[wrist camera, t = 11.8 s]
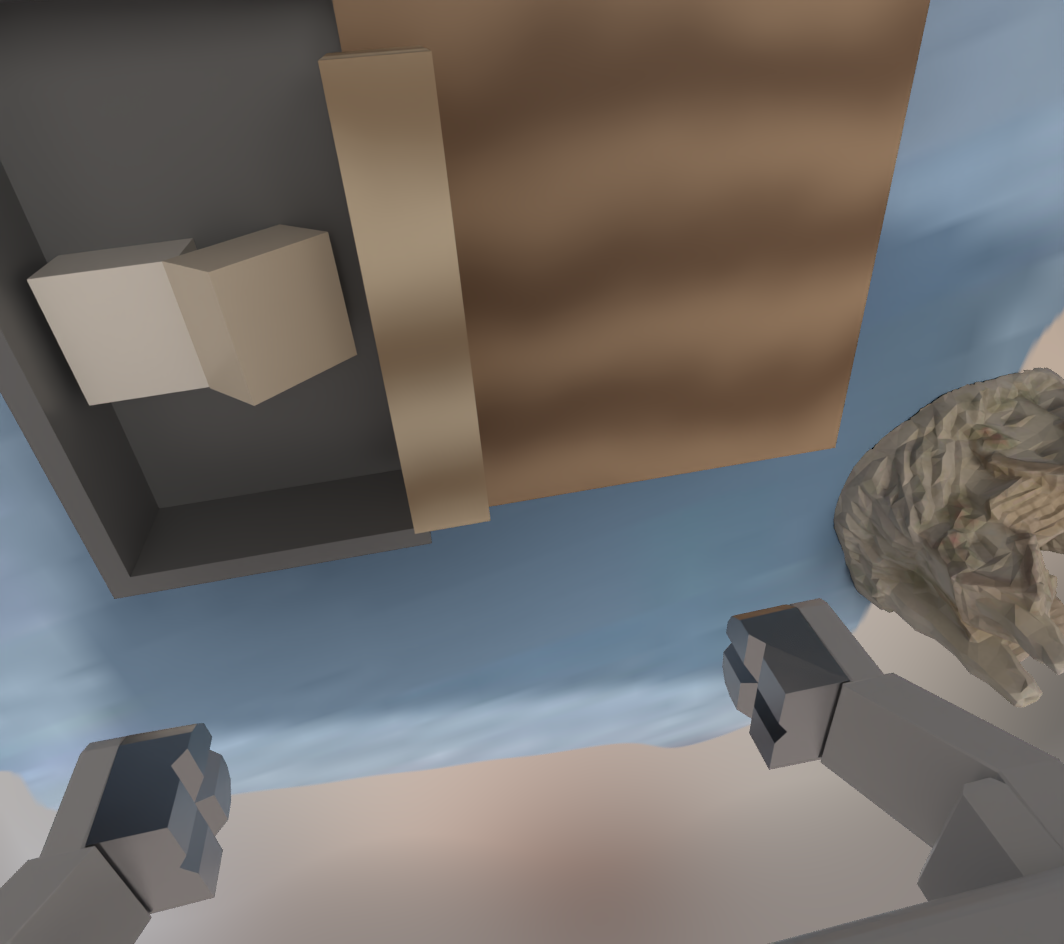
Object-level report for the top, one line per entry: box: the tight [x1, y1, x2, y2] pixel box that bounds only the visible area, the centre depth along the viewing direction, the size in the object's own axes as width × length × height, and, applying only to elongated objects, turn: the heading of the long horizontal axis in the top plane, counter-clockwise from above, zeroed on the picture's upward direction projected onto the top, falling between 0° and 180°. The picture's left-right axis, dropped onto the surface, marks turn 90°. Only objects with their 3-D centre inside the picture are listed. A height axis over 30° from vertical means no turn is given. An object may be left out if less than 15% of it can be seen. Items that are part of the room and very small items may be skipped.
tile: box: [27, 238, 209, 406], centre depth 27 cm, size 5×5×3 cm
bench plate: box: [332, 0, 930, 507], centre depth 30 cm, size 22×21×4 cm
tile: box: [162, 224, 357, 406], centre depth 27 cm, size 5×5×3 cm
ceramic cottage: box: [834, 368, 1064, 708], centre depth 39 cm, size 16×16×15 cm
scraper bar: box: [318, 45, 490, 534], centre depth 25 cm, size 16×3×5 cm, turn 3°
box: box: [0, 0, 432, 599], centre depth 27 cm, size 22×14×6 cm, turn 3°
